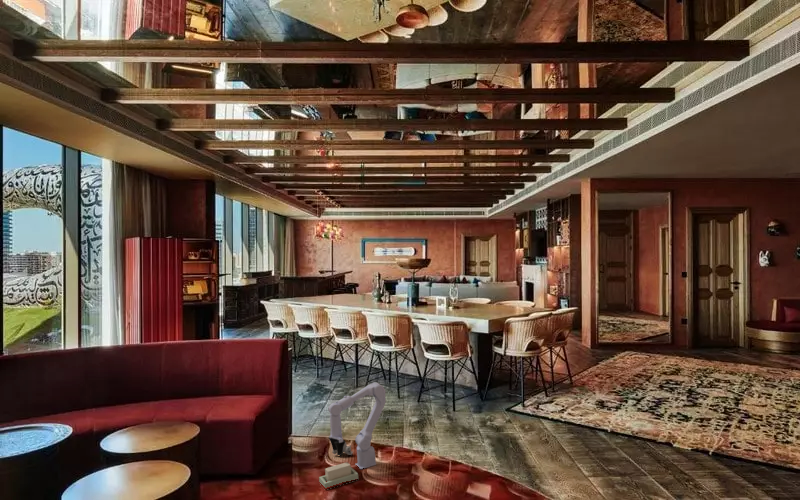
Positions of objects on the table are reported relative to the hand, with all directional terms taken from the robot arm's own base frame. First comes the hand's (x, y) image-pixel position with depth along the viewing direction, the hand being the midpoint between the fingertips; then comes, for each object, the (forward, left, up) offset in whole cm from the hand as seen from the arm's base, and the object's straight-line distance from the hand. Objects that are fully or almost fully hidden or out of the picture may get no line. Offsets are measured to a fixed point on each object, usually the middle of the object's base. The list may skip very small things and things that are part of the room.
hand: (337, 452), depth 229 cm
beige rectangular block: (+4, +11, -8) cm, 14 cm away
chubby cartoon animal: (-10, -18, -10) cm, 23 cm away
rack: (+4, +11, -10) cm, 15 cm away
